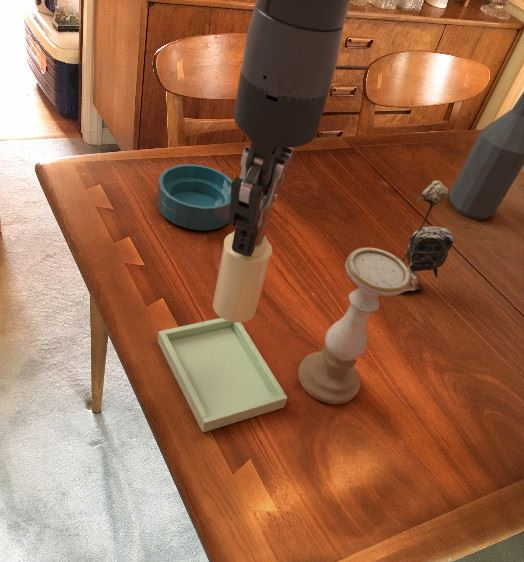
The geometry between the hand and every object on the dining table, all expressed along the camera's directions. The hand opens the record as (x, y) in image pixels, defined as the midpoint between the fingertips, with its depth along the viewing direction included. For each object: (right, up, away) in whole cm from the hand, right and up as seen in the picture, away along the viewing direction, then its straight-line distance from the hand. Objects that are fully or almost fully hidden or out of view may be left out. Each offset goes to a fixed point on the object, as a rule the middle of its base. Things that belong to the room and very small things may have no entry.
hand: (249, 240), depth 58 cm
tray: (-4, -15, +16) cm, 22 cm away
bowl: (-10, +13, +40) cm, 43 cm away
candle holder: (+10, -16, +19) cm, 27 cm away
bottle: (+46, +19, +61) cm, 78 cm away
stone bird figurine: (+25, 0, +38) cm, 46 cm away
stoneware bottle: (-2, -6, +7) cm, 10 cm away
